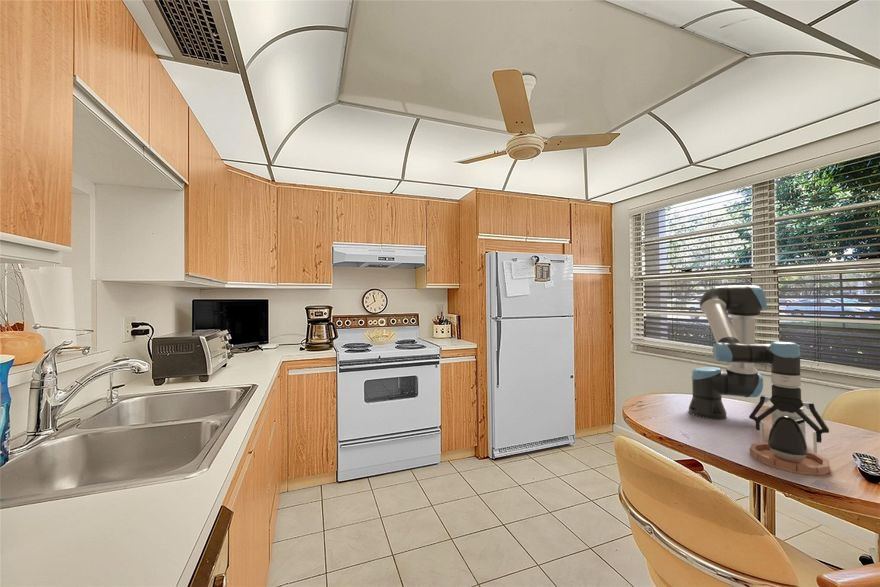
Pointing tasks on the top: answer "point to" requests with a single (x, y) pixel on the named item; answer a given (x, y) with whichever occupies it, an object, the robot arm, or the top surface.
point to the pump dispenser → (787, 439)
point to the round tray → (808, 466)
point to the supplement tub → (795, 416)
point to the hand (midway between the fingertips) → (787, 445)
